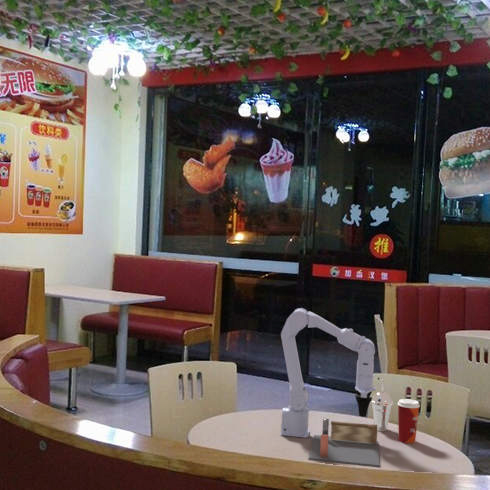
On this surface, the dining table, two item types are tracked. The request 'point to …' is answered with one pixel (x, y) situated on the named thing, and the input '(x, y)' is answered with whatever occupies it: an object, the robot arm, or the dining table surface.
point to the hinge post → (325, 426)
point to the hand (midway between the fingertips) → (362, 413)
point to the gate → (354, 432)
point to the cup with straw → (381, 408)
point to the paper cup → (407, 420)
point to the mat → (346, 452)
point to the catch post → (324, 445)
